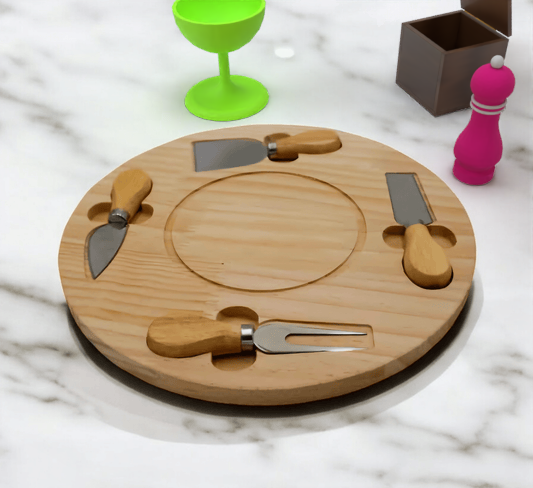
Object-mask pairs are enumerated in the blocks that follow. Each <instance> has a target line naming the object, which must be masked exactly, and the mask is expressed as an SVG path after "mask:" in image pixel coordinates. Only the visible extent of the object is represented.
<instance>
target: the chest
mask: <svg viewBox="0 0 533 488" xmlns="http://www.w3.org/2000/svg"><path fill="white" fill-rule="evenodd" d="M400 25H401V26H400V35H399V43H398V52H397V62H396V71H395V84H396V85H397V86H399V87H400V88H401V89H402V90H403V91H404V92H406V93H407V94H408V95H409V96H410V97H411V98H412V99H414V101H416V102H417V103H418V104H419V105H420V106H422V107H423V108H424V109H425V110H426V111H427V112H429V113H430V114H431V115H432V116H433V117H434V118H437V117H440V116H444V115H448V114H451V113H452V114H453V113H455V112H460V111H463V110H466V109H470V108H471V106H470V102H471V96H472V95H473V92H472V91H471V86H470V84H471V79H472V76H473V74H474V73H475V71H476V70H477V69H478V68H479V67H481V66H483V65H485V64H488V63H491V59H492V58H493V57H494V56H497V55H499V56H502V57H503V58H504V61H505V59H506V56H507V51H508V46H509V42H510V39H509V37H507V36H505V35H503V34H502V33H500V32H499V31H497V30H496V31H495V30H494V29H492V28H491V27H489V26H487V25H486V24H484V23H483V22H481V21H480V20H478V19H476V18H475V17H473V16H472V15H470V14H468V13H467V12H465V11H464V9H458V10H454V11H453V10H452V11H449V12H444V13H440V14H435V15H431V16H426V17H422V18H417V19H411V20H408V21H403V22H401V23H400ZM471 109H472V108H471Z"/></svg>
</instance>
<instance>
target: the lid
mask: <svg viewBox="0 0 533 488" xmlns="http://www.w3.org/2000/svg"><path fill="white" fill-rule="evenodd" d="M459 1H460V8H461V10H465V11H467V12H468V13H470V14H472V15H473V16H475V17H476V18H478V19H480V20H481V21H483V22H484V23H486V24H487V25H489V26H491V27H492V28H494V29H495V30H496V31H497V32H499V33H500V34H502V35H503V36H505V37H506V38H510V37H512V36H513V0H459Z"/></svg>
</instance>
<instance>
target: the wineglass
mask: <svg viewBox="0 0 533 488" xmlns="http://www.w3.org/2000/svg"><path fill="white" fill-rule="evenodd" d="M266 5H267V1H266V0H174V2H173V3H172V5H171V10H172V16H173V18H174V23H175V25H176V27H177V28H178V30H179V31H180V33H181V35H182V36H183V37H184V38H185V39H186V40H187V41H188V43H190V44H191V45H192V46H195V47H196V48H198V49H199V50H202V51H205V52H207V53H211V54H217V61H218V71H219V72H218V73H219V75H214V76H211V77H207V78H205V79H201V80H200V81H198V82H197V83H195V84H194V85H192V86H191V87H190V88H189V89H188V91H187V92H186V94H185V97H184V105H185V107H186V109H187V111H188V112H189V113H191V114H192V115H194V116H195V117H198V118H200V119H203V120H206V121H207V120H208V121H214V122H231V121H238V120H239V121H240V120H242V119H247V118H249V117H252V116H254V115H256V114H258V113H259V112H260V111H263V109H265V107H266V106H267V105H268V103H269V99H270V94H269V92H268V89H267V87H266V86H265V85H264V84H263V83H262V82H260V81H259V80H257V79H255V78H252V77H250V76H246V75H240V74H231V69H230V56H229V53H232V52H235V51H238V50H240V49H241V48H243V47H244V46H246V45H247V44H249V43H250V42H251V41H252V40H253V39H254V38H255V36H256V35H257V34H258V32H259V31H260V29H261V27H262V24H263V22H264V18H265V15H266V14H265V13H266Z"/></svg>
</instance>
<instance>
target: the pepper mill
mask: <svg viewBox="0 0 533 488" xmlns="http://www.w3.org/2000/svg"><path fill="white" fill-rule="evenodd" d="M504 64H505V60H504V58H503V57H502V56H499V55H497V56H494V57H493V58H492V59H491V63H488V64H485V65H483V66H481V67H479V68H478V69H477V70H476V71H475V73H474V74H473V76H472V79H471V84H470V86H471V91H472V92H473V95H472V96H471V102H470V106H471V115H470V119H469V121H468V123H467V125H466V126H465V127H464V129H462V131H461V132H460V133H459V134H458V136H457V138H456V140H455V143H454V145H453V151H452V152H453V157H454V158H455V160H454V161H453V165H452V174H453V176H454V178H455V179H457V180H458V181H459V182H461V183H463V184H466V185H469V186H482V185H483V186H484V185H486V184H488V183H490V182H491V181H492V180H493V179H494V176H495V172H496V165H498V163H499V162H500V161H501V159H502V157H503V151H504V144H503V138H502V134H501V131H500V118H501V114H502V113H504V112H505V111H506V109H507V103H508V98H509V97H510V96H511V95H512V94H513V92H514V90H515V87H516V77H515V73H514V72H513V70H512V69H511V68H509V66H507V65H504Z"/></svg>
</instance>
